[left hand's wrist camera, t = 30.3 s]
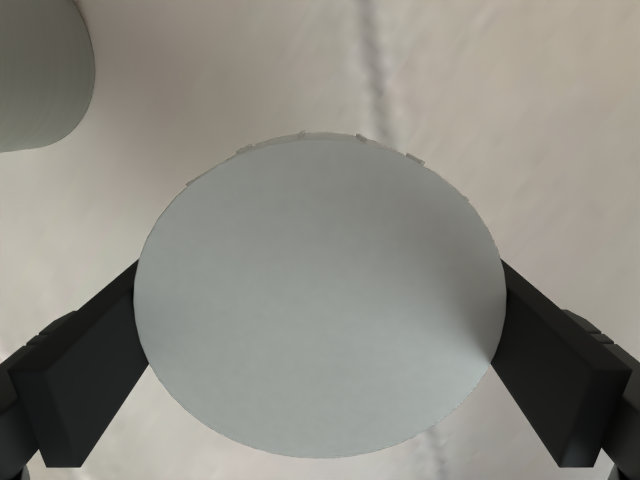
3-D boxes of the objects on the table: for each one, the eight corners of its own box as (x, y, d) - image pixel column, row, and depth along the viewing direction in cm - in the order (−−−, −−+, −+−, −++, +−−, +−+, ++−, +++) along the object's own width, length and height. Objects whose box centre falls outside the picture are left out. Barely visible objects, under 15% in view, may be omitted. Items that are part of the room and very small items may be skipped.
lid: (122, 147, 10) (74, 157, 8) (490, 112, 10) (533, 113, 8) (200, 417, 14) (180, 469, 12) (467, 398, 14) (492, 448, 12)
